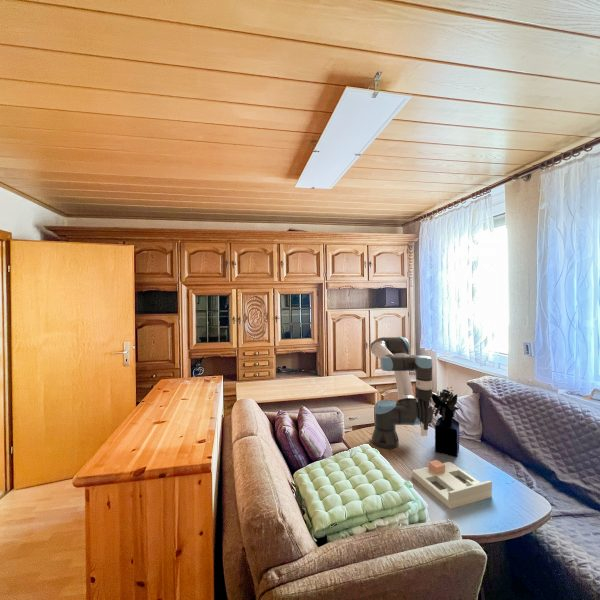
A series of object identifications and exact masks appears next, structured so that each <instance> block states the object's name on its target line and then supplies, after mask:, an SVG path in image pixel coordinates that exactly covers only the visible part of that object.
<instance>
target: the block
mask: <svg viewBox="0 0 600 600" xmlns="http://www.w3.org/2000/svg"><path fill="white" fill-rule="evenodd" d="M427 463H428V466H427V467H428V468H429V469H431V470H432V471H433V472H434V473H436V474H438V473H442V472H445V465H444V464H442V462H441V461H440V460H438V459H434V460H430V461H428V462H427Z"/></svg>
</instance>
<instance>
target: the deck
mask: <svg viewBox="0 0 600 600" xmlns="http://www.w3.org/2000/svg"><path fill="white" fill-rule="evenodd" d="M441 463H442V462H441ZM442 464H444V465H445V472H442V473H438V474H436V473H434V472H433V471H432V470H431V469H429V468H428V466H426V467H425V466H424V467H420V468H417V469H412V470H411V476H412V477H411V478H413V479H414V480H415V481H417V482H418V483H419V484H420V485H421V486H422V487H424V488H425V489H426V490H427V491H429V493H431V494H432V495H433V496H434V497H435V498H437V499H438V500H439V501H440V502H441V503H442V504H443V505H445V506H446V507H447V508H448V509H450V510H452V509H455V508H459V507H463V506H466V505H469V504H472V503H476V502H479V501H482V500H486V499H489V498H492V497H493V495H492V494H493V493H492V492H493V488H492V487H493V483H492V480H486V481H482V482H481V481H479V480H478V479H477V478H475V477H473V476H472V475H470V474H469V473H467V471H464V470H463V469H461V468H460V467H458V466H457V465H455V464H454V463H452V462H451V461H446V462H445V461H444V462H443V463H442Z"/></svg>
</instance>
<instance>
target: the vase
mask: <svg viewBox="0 0 600 600" xmlns="http://www.w3.org/2000/svg"><path fill="white" fill-rule="evenodd" d="M452 388H453V387H452V386H450V387H446V388H442V391H440V392H439V391H437V393H436V394H434V393H432V397H431V401H432V402H433V403H434V405H433V406H435V409H436V410H434V417H435V418H437V415H438V414H439V416H440V417H439V418H437V420H436V422H435V424H434V453H438V454H442V455H444V456H445V455H446V456H451V457H454V458H458V455H459V451H460V422H459V420H456V419H455V415H456V414H455V413H456V411H458V410H460V407H458V406H456V405H457V403H458V394H454V393H453V391H454V390H453V389H452ZM449 389H451V390H449Z"/></svg>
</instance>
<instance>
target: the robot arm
mask: <svg viewBox="0 0 600 600" xmlns="http://www.w3.org/2000/svg"><path fill="white" fill-rule="evenodd" d="M370 351H371V353H372V354H373V356H375V357H377V358H378V359H379V360H380V364H379V365H380V368H381V370H382V371H383V372H394V377H395V383H396V388H397V389H396V390H397V395H398V397H397V399H396V401H394V400H392V399H380V400H378V401H377V402H375V404H374V409H373V412H374V428H373V433H372V435H371V442H372V444H373V445H374V446H376V447H378V448H381V449H388V450H389V449H395V448H398V446H399V444H400V439H399V436H398V433H397V428H396V426H417V425H419V426H420V436H422V437H427V436H428V430H429V424H431V423H432V421H433V416H434V413H435V409H436V408H435V406H434V405H433V404H432V394H433V359H432V357H431V356H429V355H428V356H427V355H417V354H411V345H410V342H409V341H408V339H407V338H406V337H404V336H403V337H400V336H397V337H396V336H395V337H393V336H391V337H387V336H386V337H384V336H383V337H379V338H376V339H375V340H373V342H372V343H371V345H370ZM410 372H415V396H416V397H415V396H414V392H413V391H414V390H413V387H412V381H411V380H412V379H411V376H410Z"/></svg>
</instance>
